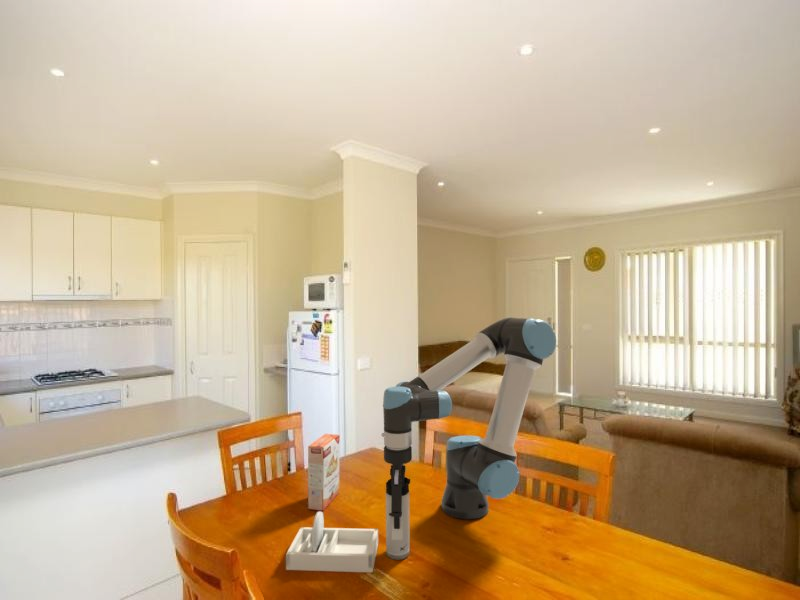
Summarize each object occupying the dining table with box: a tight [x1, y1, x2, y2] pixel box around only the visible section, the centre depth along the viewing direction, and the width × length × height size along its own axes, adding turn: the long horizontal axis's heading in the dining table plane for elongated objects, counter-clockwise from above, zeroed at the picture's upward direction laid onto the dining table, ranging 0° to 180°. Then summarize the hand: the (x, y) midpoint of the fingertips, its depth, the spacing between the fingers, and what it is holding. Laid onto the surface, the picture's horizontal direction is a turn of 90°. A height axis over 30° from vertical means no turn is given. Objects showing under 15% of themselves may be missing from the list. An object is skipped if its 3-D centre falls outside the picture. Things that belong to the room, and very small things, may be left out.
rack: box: [285, 511, 379, 573], centre depth 116 cm, size 22×13×11 cm, turn 87°
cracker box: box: [307, 433, 340, 512], centre depth 147 cm, size 14×6×21 cm, turn 166°
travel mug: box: [385, 476, 411, 561], centre depth 117 cm, size 6×7×20 cm
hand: (398, 529), depth 117 cm, fingers open, 9 cm apart
